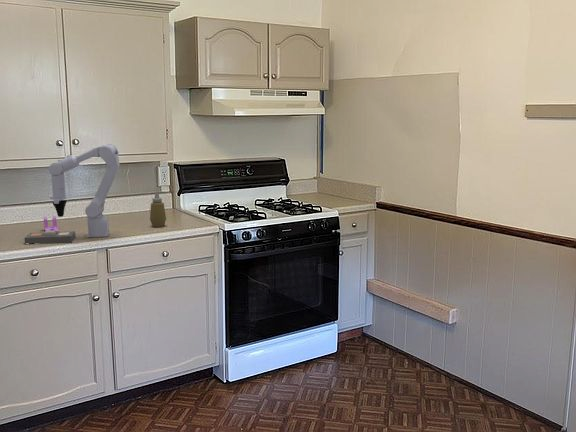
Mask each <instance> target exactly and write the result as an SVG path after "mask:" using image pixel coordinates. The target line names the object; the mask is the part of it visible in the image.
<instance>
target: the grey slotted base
mask: <svg viewBox="0 0 576 432" xmlns="http://www.w3.org/2000/svg"><path fill="white" fill-rule="evenodd" d="M44 232H45V231H44ZM44 232H42V233H43V235H42V236H30V235H32V234H36V233H37V232H30V233H28V234H27V235H25V237H24V238H23V239H24V244H25V243H46V244H69V243H72V242H73V241H74V240H75V239H76V236H77V235H76V231H75V230H73V231H72V230H71V231H69V232H70V234H69V235H58V234H59V233H66V232H67V231H59V232H56V235H55V236H44Z"/></svg>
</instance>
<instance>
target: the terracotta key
mask: <svg viewBox="0 0 576 432" xmlns="http://www.w3.org/2000/svg"><path fill="white" fill-rule="evenodd" d="M35 233H36V234H32V235H30V236H42V235H43V232H35Z"/></svg>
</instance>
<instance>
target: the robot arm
mask: <svg viewBox="0 0 576 432" xmlns="http://www.w3.org/2000/svg"><path fill="white" fill-rule="evenodd" d="M119 155H120V154H119V151H118V149H117V146H116V145H114V144H112V143H108V144H105V145H101V146H98V147H94V148H91V149H89V150H87V151H85V152H83V153H80V154H79V155H74V154H72V155H70V154H69V155H66V157H65V158H62V159H58V160H57V161H56V162H52V163H51V164H49V166H48V172H49V173H50V177H51V190H52V196H51V197H49V199H50V200H53V202H52V205H53V206H54V210H55V211H56V213H57V217H59V218H61V217H64V215H65V214H64V213H65V210H66V209H65V208H66V205H67V200H66V199H67V196H66V195H67V194H66V193H67V192H66V182H65V172H68V171H71V170H73V169H76V168H78V167H79V165H80V163H82V162H84V161H86V160H89V159H91V158H94V157H95V158H101V159H102V160H103V161H104V163H105V164H106V167H107V168H106V169H105V173H104V174H103V176H102V179H101V181H100V183H99V186H98V188H97V191H96V193H95V194H94V197H93V198H92V200H91V201H90V204H89V205H87V206H86V208H85V209H84V210H85V215H86V217H87V218H86V219H87V230H88V231H87V232H88V233H87V235H86V238H97V237H98V238H101V237H105V238H107V237H108V235H110V224H109V217H108V216H104V214H103V212H104V210H105V203H106V198H107V197H108V194H109V193H110V190H111V187H112V185H113V183H114V181H115V178H116V176H117V174H118V171H119V170H120V158H119Z"/></svg>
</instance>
